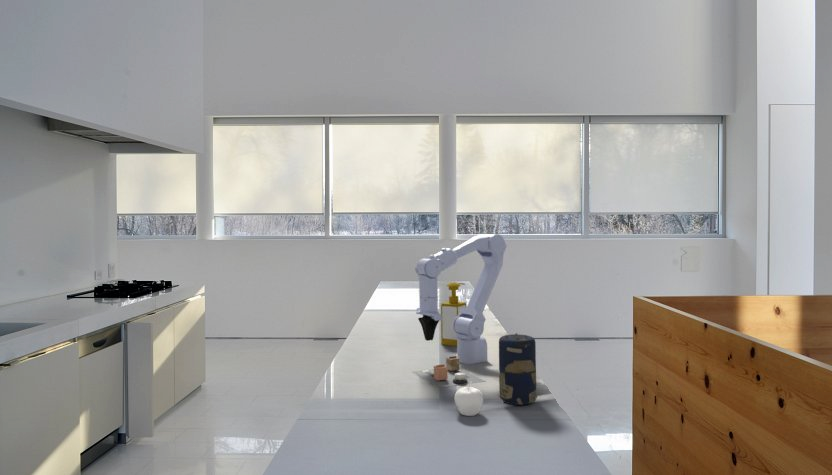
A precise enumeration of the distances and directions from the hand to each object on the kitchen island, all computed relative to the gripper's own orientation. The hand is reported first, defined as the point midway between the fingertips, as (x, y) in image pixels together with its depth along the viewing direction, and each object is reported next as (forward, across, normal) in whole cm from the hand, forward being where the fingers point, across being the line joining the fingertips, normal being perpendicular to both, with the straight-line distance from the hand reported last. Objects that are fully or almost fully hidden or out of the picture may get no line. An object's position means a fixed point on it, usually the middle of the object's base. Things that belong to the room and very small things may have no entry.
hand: (429, 340), depth 185 cm
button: (+9, +19, +1) cm, 21 cm away
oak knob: (+9, +6, +5) cm, 12 cm away
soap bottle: (+10, -35, +28) cm, 46 cm away
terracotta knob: (+9, +14, -3) cm, 17 cm away
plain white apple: (+10, +41, -8) cm, 43 cm away
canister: (+10, +38, +8) cm, 40 cm away
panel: (+10, +12, 0) cm, 16 cm away
